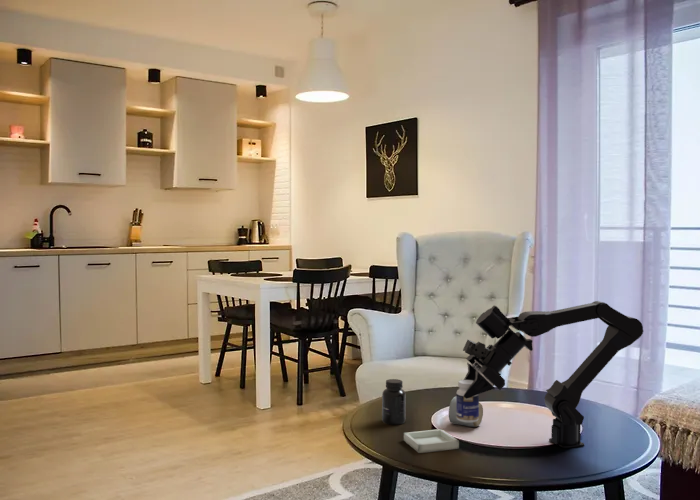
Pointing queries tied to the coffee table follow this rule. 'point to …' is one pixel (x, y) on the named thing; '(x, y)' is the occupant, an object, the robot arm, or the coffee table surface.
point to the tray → (431, 441)
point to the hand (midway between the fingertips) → (462, 394)
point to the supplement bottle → (393, 403)
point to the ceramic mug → (454, 420)
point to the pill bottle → (466, 403)
